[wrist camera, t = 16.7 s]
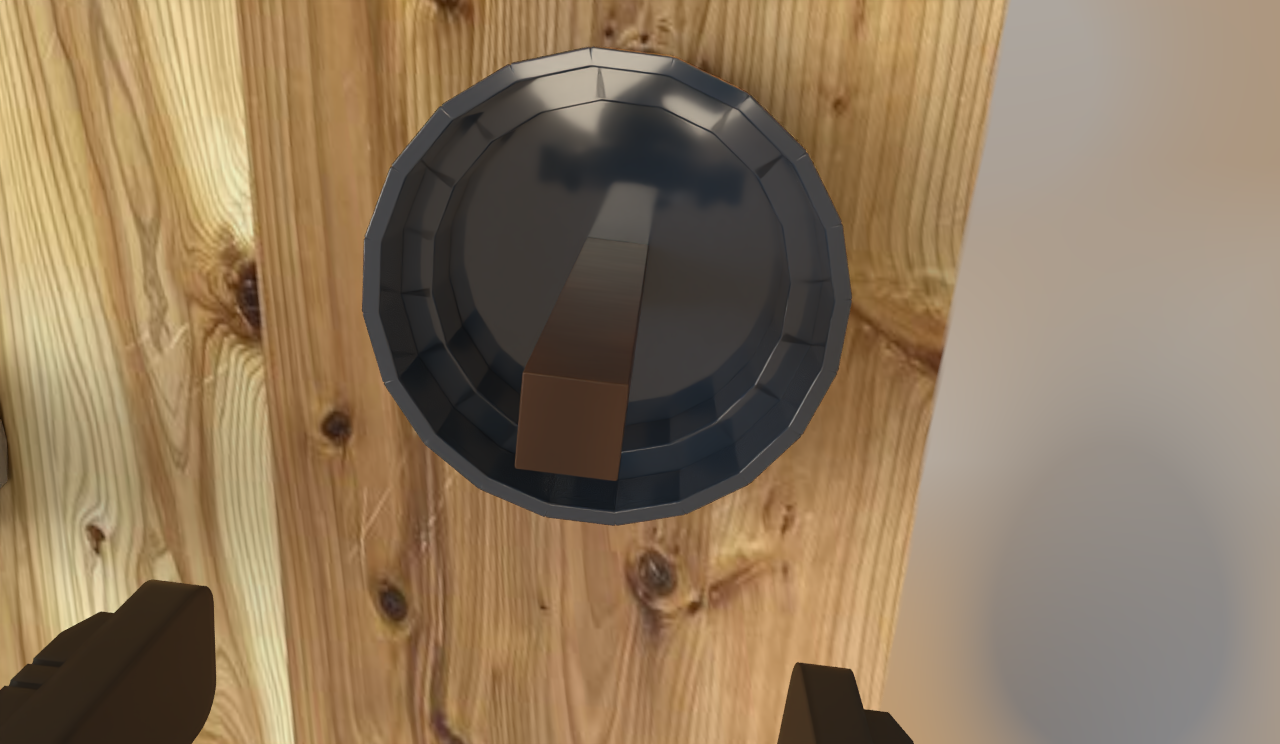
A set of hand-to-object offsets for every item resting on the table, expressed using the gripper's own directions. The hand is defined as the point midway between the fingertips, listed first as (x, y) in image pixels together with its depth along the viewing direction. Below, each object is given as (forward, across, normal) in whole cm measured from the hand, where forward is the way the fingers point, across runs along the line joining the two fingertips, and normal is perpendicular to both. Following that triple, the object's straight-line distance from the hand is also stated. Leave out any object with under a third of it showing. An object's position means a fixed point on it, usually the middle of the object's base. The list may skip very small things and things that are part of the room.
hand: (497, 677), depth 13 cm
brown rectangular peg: (+25, 0, 0) cm, 25 cm away
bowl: (+26, 0, 0) cm, 26 cm away
